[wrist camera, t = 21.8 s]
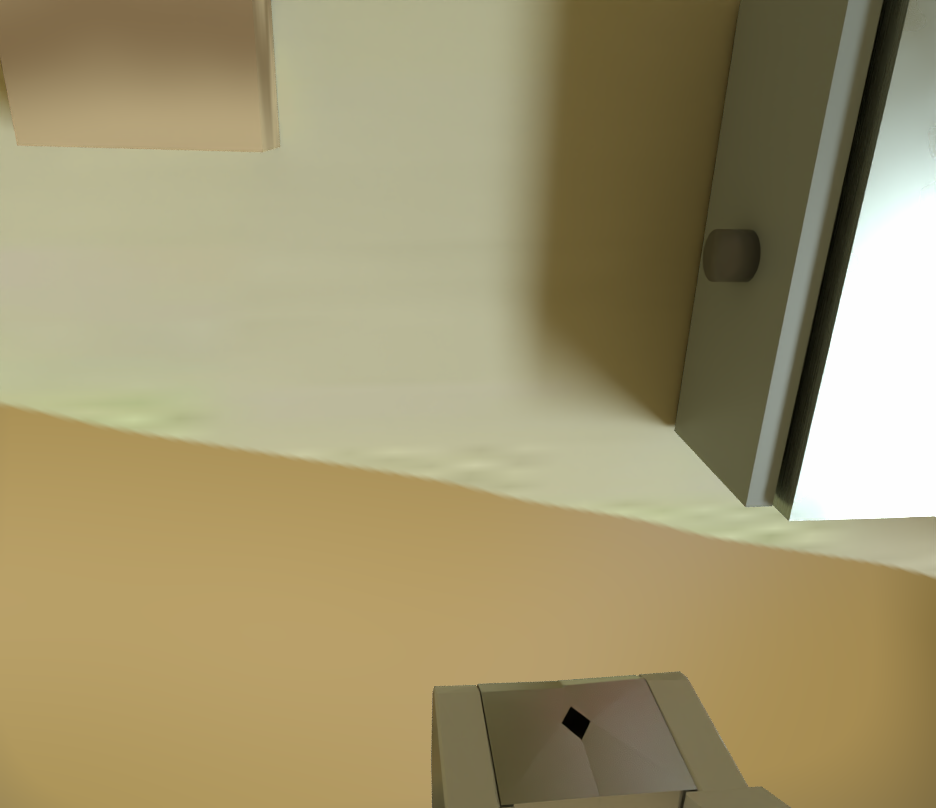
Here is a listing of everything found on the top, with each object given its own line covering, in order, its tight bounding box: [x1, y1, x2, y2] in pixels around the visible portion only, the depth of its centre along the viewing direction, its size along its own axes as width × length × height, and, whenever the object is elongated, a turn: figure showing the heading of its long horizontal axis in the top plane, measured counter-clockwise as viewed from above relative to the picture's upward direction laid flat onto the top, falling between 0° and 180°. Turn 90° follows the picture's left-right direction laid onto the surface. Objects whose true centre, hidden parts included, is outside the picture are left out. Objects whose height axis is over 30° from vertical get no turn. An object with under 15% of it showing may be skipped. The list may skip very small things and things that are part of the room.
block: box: [0, 0, 280, 152], centre depth 22 cm, size 7×7×4 cm
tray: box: [674, 0, 883, 507], centre depth 26 cm, size 17×17×7 cm
